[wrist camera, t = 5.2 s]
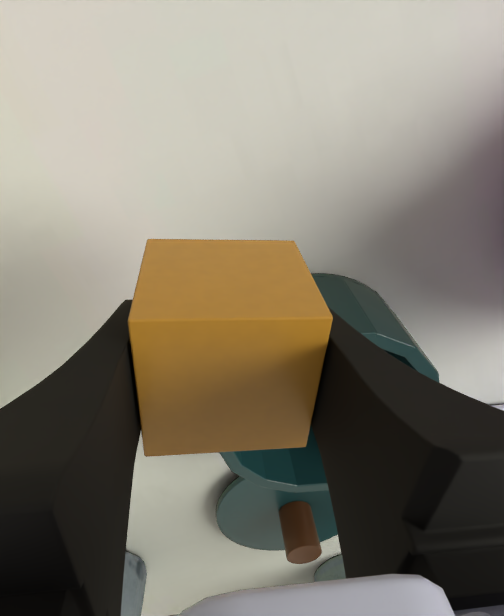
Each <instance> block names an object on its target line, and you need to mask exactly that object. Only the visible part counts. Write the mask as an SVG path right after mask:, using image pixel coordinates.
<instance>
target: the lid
mask: <svg viewBox="0 0 504 616" xmlns="http://www.w3.org/2000/svg"><path fill="white" fill-rule="evenodd" d="M216 518H217V524H218V526H219V528H220V530H221V532H222V533H223V534H224V535H225V536H226V537H227V538H229V539H230V540H231V541H233V542H235V543H237V544H240V545H242V546H245V547H249V548H253V549H259V550H285V551H286V557H287V560H288V561H289V562H291V563H295V564H303V563H308V562H311V561H313V560H315V559H317V558H318V557H319V556H320V555H321V553H322V550H321V546H320V542H322V541H324V540H327V539H329V538H331V537H333V536H335V535H337V534H338V532H337V527H336V522H335V517H334V512H333V507H332V502H331V498H330V493H329V490H324V491H311V492H298V493H294V492H293V493H292V492H286V491H281V490H275V489H270V488H264V487H260V486H257V485H255V484H253V483H251V482H250V481H248V480H246V479H244V478H243V477H241V476H240V477H238V478H237V479H236V480H234V481H233V482H232V483H231V484H230V485H229V486H228V487H227V488H226V489H225V491H224V492H223V493H222V495H221V497H220V498H219V501H218V504H217V508H216Z"/></svg>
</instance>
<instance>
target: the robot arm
mask: <svg viewBox="0 0 504 616" xmlns="http://www.w3.org/2000/svg"><path fill="white" fill-rule="evenodd" d="M132 301H133V300H125V301H124V302H123V303H122V304H121V305H120V306H119V307H118V308H117V310H116V311H115V312H114V313H113V314H112V315H111V317H110V318H109V319H108V320H107V321H106V322H105V323H104V325H103V326H102V327H101V328H100V329H99V330H98V331H97V332H96V333H95V334H94V335H93V336H92V337H91V338H90V340H89V341H88V342H87V343H86V344H85V345H84V346H82V347H81V348H80V349H79V350H78V351H77V352H76V353H75V354H74V355H73V356H72V357H71V358H70V359H69V360H68V361H66V362H65V363H64V364H63V365H62V366H61V367H59V368H58V369H57V370H56V371H54V372H53V373H52V374H51V375H49V376H48V377H47V378H45V379H44V380H43V381H41V382H40V383H39V384H37V385H36V386H34V387H33V388H31V389H30V390H28V391H27V392H25V393H24V394H22V395H21V396H19V397H18V398H16V399H15V400H13V401H12V402H10V403H9V404H7V405H6V406H4V407H2V408H1V409H0V616H121V604H122V590H123V577H124V565H125V553H126V541H127V530H128V519H129V509H130V498H131V489H132V479H133V470H134V463H135V457H136V451H137V446H138V441H139V437H140V432H141V424H140V416H139V408H138V400H137V392H136V384H135V376H134V368H133V360H132V352H131V344H130V336H129V328H128V317H129V313H130V309H131V305H132ZM327 307H328V306H327ZM328 309H329V311H330V313H331V315H332V317H333V320H332V325H331V330H330V334H329V339H328V344H327V349H326V353H325V358H324V363H323V368H322V373H321V377H320V382H319V387H318V392H317V397H316V401H315V406H314V411H313V416H312V421H311V426H312V429H313V432H314V435H315V438H316V441H317V444H318V447H319V451H320V454H321V458H322V462H323V467H324V471H325V475H326V480H327V484H328V488H329V493H330V498H331V502H332V507H333V512H334V517H335V522H336V527H337V532H338V537H339V542H340V548H341V553H342V558H343V564H344V570H345V576H346V579H339V580H329V581H320V582H311V583H301V584H292V585H282V586H273V587H263V588H254V589H244V590H238V591H233V592H229V593H224V594H220V595H216V596H211V597H207V598H205V599H203V600H201V601H199V602H197V603H196V604H194V605H192V606H190V607H188V608H187V609H185V610H183V611H182V612H181V613H180V614H179V615H170V616H504V405H488V404H485V403H483V402H480V401H478V400H476V399H473V398H471V397H468V396H466V395H464V394H462V393H459V392H457V391H455V390H453V389H451V388H449V387H447V386H445V385H443V384H441V383H439V382H437V381H435V380H433V379H431V378H429V377H427V376H425V375H423V374H421V373H419V372H418V371H416V370H414V369H413V368H411V367H409V366H408V365H406V364H404V363H403V362H401V361H399V360H398V359H396V358H394V357H393V356H391V355H390V354H388V353H387V352H385V351H384V350H383V349H381V348H380V347H378V346H377V345H376V344H374V343H373V342H371V341H370V340H369V339H367V338H366V337H365V336H363V335H362V334H361V333H360V332H358V331H357V330H356V329H355V328H353V327H352V326H351V325H350V324H348V323H347V322H346V321H345V320H344V319H342V318H341V317H340V316H339V315H338V314H336V313H335V312H334V311H333V310H332V309H331V308H329V307H328Z"/></svg>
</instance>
